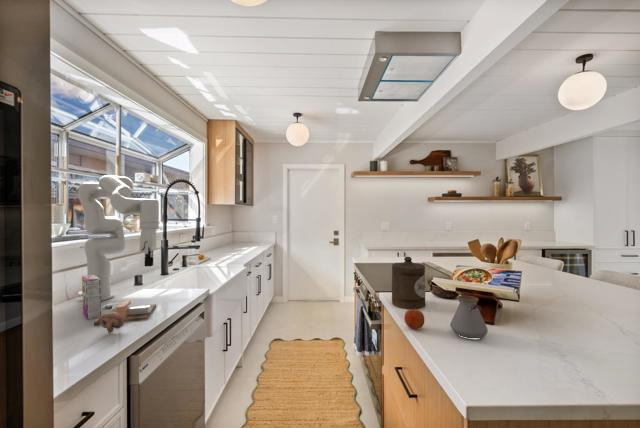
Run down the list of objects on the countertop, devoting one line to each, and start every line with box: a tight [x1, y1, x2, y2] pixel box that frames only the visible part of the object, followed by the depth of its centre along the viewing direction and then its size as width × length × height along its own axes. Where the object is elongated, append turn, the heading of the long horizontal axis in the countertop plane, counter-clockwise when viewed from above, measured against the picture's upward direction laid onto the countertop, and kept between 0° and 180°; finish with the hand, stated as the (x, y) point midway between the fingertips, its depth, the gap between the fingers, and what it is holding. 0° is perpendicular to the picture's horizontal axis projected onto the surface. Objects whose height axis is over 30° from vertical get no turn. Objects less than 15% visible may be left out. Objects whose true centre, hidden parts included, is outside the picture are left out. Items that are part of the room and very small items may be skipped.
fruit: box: [403, 309, 425, 331], centre depth 106 cm, size 7×7×8 cm
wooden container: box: [391, 256, 426, 310], centre depth 134 cm, size 15×15×22 cm
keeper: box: [115, 300, 132, 319], centre depth 120 cm, size 3×8×5 cm, turn 19°
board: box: [93, 303, 157, 327], centre depth 124 cm, size 18×18×1 cm
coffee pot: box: [449, 294, 488, 339], centre depth 95 cm, size 21×12×15 cm, turn 161°
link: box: [101, 304, 151, 315], centre depth 121 cm, size 18×5×4 cm, turn 105°
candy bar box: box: [81, 275, 102, 320], centre depth 125 cm, size 11×5×16 cm, turn 47°
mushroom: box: [98, 312, 125, 334], centre depth 105 cm, size 8×6×8 cm
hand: (148, 265), depth 133 cm, fingers closed
